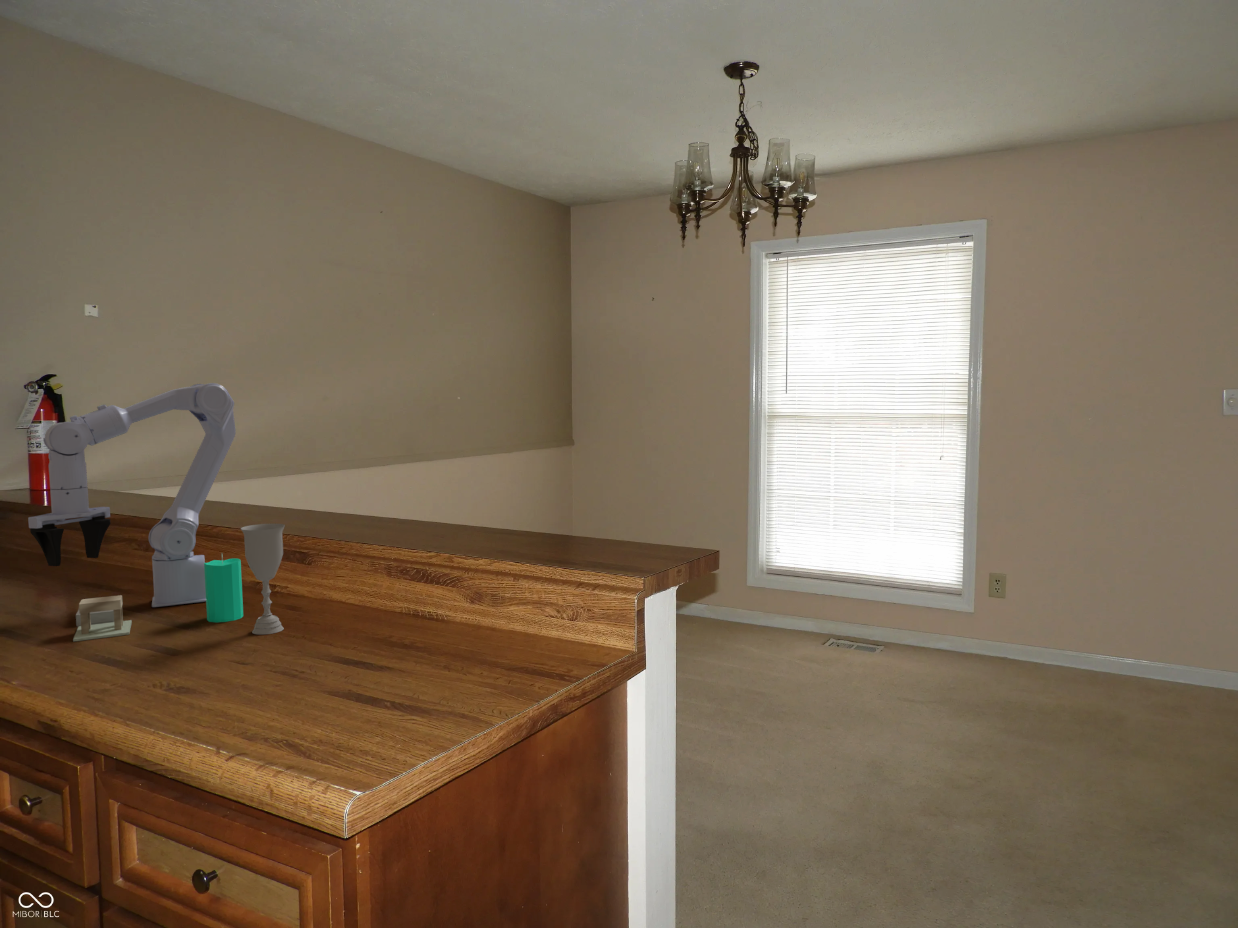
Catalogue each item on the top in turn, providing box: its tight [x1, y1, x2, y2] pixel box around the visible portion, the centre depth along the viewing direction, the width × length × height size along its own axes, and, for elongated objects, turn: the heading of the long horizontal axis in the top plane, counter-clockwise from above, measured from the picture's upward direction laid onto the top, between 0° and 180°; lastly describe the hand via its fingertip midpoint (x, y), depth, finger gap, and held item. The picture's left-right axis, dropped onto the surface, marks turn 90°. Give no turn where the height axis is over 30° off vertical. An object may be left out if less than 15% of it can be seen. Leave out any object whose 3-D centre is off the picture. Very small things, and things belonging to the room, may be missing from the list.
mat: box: [72, 619, 133, 642], centre depth 143 cm, size 8×9×1 cm
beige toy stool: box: [78, 594, 124, 634], centre depth 143 cm, size 6×4×5 cm, turn 117°
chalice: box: [240, 523, 286, 635], centre depth 142 cm, size 7×7×18 cm
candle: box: [204, 552, 244, 623], centre depth 150 cm, size 6×6×12 cm
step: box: [75, 608, 114, 627], centre depth 151 cm, size 6×7×2 cm
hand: (73, 561), depth 152 cm, fingers open, 7 cm apart
